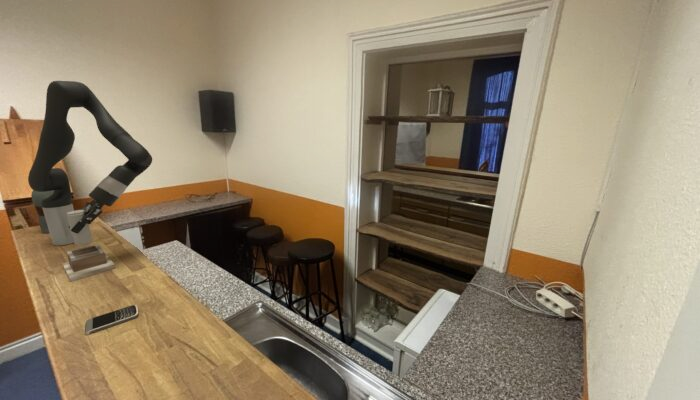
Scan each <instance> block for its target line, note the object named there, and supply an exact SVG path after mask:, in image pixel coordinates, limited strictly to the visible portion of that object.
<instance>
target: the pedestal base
mask: <svg viewBox="0 0 700 400" xmlns="http://www.w3.org/2000/svg"><path fill="white" fill-rule="evenodd" d="M66 252H67V253H66V257H67V262H62V267H63V269H64V272H65V273H66V276H67V278H68V279H69V281H70V282H74V281H76V280H77V281H78V280H81V279H85V278H87V277H90V276H93V275H97V274H100V273H104V272H107V271H110V270H111V271H112V270H113V269H116V264H115V263H114V262H113V261H112V260H111V258H110V257H109V256H108V255H107V254H106V252H105V251H104V249H103V247H102V248H101V246H100V245H99V244H98V243H97V244H93V245H89V246H84V247H81V248H77V249H72V250H68V251H66Z"/></svg>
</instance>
